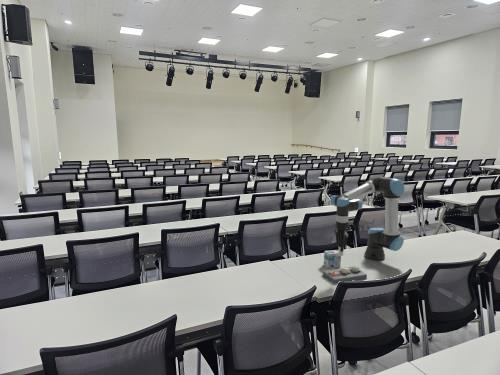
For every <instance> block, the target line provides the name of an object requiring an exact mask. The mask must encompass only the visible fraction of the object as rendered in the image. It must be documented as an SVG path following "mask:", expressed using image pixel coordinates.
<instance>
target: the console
mask: <svg viewBox="0 0 500 375" xmlns="http://www.w3.org/2000/svg"><path fill="white" fill-rule="evenodd" d="M346 267H347V266H346ZM347 268H349V273H348V274H342V273H341V268H340V267H339V268H335V269H329V270H327V269H326V270H323V271H322V276H324V277H325V278H326V279H327V280H329V281H330V282H331V283H333V284H334V285H335V284H337V285H338V284H339V283H338V282H339V281H349V282H353V281H352V280H355V281H361V280H366V279H368V278H367V274H368V273H365V272H364V271H361V269H359V272H358V273H355V272H352V271H351V270H352V266H348V267H347ZM331 271H335V272H337V273H338V276H334V277H332V276H331V275H330V272H331Z"/></svg>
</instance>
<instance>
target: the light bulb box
mask: <svg viewBox="0 0 500 375" xmlns="http://www.w3.org/2000/svg"><path fill="white" fill-rule="evenodd" d="M323 253H324V254H323V266H324V267H325V268H327V269H331V268H340V267H341V265H342V264H341V261H342V256H338V249H334V250H324V252H323Z"/></svg>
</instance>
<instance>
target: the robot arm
mask: <svg viewBox="0 0 500 375" xmlns="http://www.w3.org/2000/svg"><path fill="white" fill-rule="evenodd" d="M404 192H405V184H404V182H403V181H402V180H401V179H398V178H392V177H384V176H379V177H375V178H371V179H369V180H367V181H365V182H364V184H361V185H360V186H357V187H355V188H353V189H351V190H348V191H346V192H344V193H343V194H340V195H338V194H337V195H335V194H334V195H332V197H331V198H330V204H331V205H332V206H334V207H336V217H335V218H336V219H335V220H336V222H335V226H336V228H335V229H334V233H335V242H336V243H335V244H336V245H337V246H338V249H337V250H338V256H341V257H342V256H344V248H345V247H347V244H348V243H347V242H348V240H349V239H348V238H349V235H350V234H349V233H347V229H348V226H349V214H350V213H349V212H354V211H355V212H357V211H359V210H362V208H363V206H364V205H363V201H362V200H361V199H360V198H362V197H364V196H366V195H369V194H373V193H381V194H382V197H383V199H384V200H385V201H384V204H385V205H384V209H385V210H384V212H385V213H384V216H385V217H384V222H385V223H384V224H385V226H384V227H385V228H383V227H371V228H369V229H368V233H367V246H366V248H365V251H364V257H365V258H367V259H369V260H372V261H383V260H385V258H386V254H385V250H384V248H385V249H387V250H390V251H393V252H397V251H399V250H401V248H402V247H403V245H404V237H402V235H401V232H400V230H399V199H401V196H403V194H404Z"/></svg>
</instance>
